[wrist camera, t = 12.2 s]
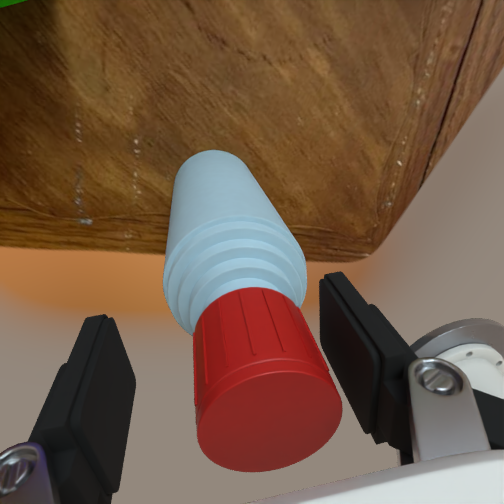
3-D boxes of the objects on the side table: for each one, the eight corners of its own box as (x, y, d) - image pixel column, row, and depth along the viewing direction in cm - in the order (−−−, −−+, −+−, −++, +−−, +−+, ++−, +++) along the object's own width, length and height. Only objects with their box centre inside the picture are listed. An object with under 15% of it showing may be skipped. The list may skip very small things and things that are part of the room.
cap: (217, 271, 11) (230, 356, 8) (320, 301, 12) (370, 386, 9) (178, 361, 12) (174, 466, 9) (274, 380, 14) (302, 478, 10)
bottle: (267, 172, 28) (420, 353, 10) (232, 238, 30) (302, 489, 12) (193, 134, 25) (211, 277, 7) (161, 209, 27) (112, 463, 9)
